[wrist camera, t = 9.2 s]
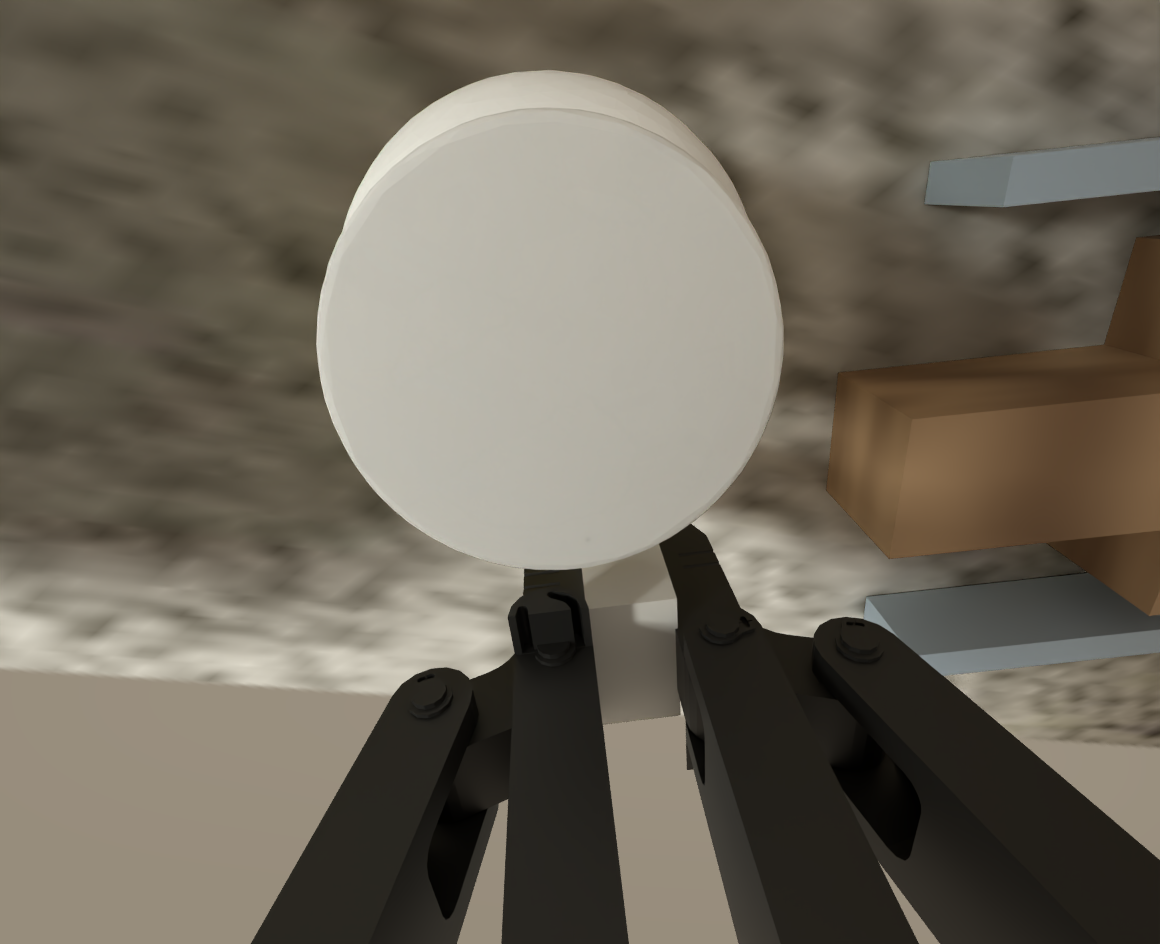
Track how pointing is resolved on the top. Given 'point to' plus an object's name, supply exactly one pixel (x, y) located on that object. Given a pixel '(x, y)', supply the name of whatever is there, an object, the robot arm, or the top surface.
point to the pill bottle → (549, 323)
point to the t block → (1017, 449)
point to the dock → (1043, 605)
